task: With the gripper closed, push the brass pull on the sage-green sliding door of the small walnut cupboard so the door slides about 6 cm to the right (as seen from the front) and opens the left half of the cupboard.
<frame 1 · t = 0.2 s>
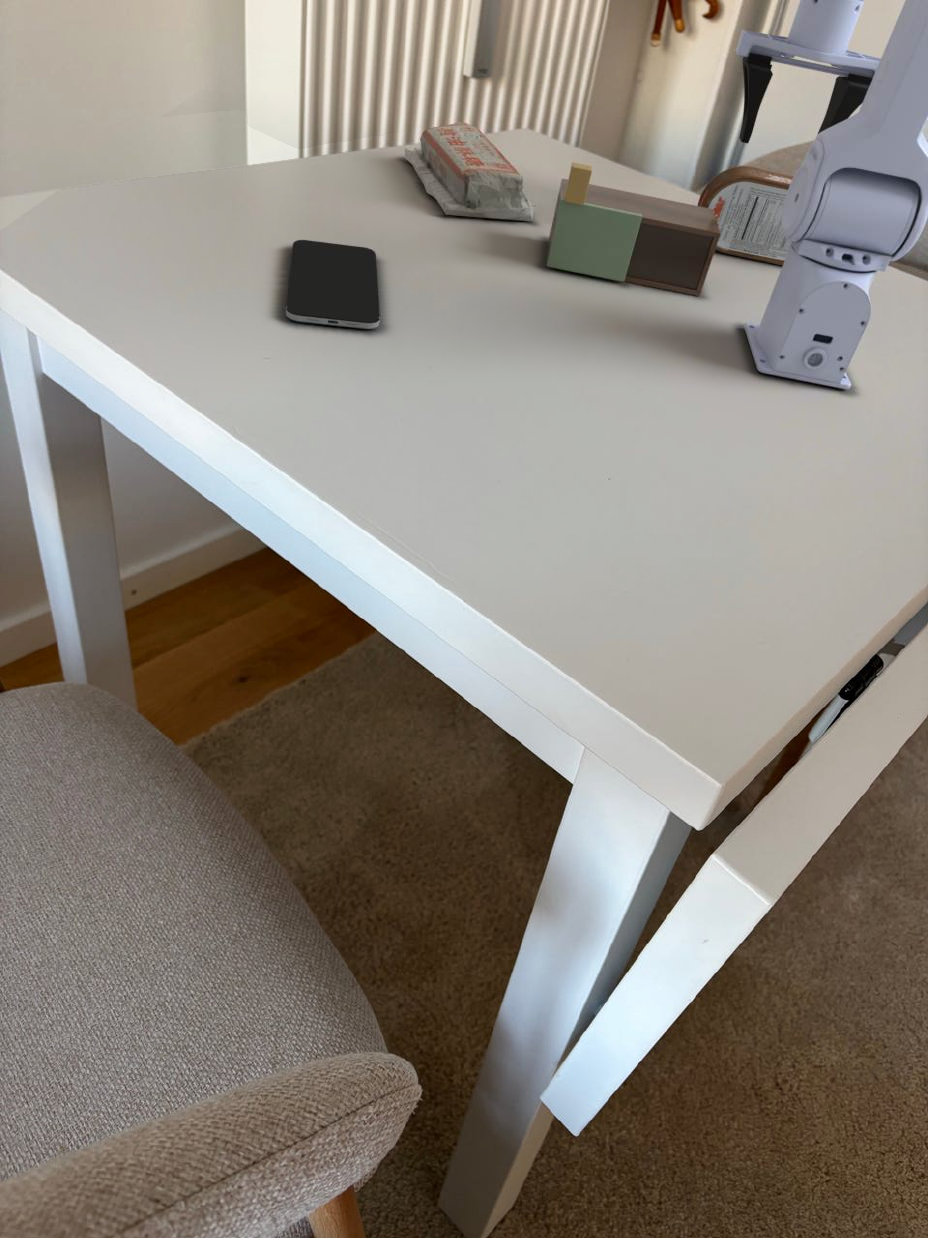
hand: (779, 147, 96), 10 cm above the table, tool pointing down, fingers open, 7 cm apart
smartphone: (333, 288, 77), on the table
tin: (754, 259, 100), on the table
sliding door: (597, 224, 85), point 5 cm above the table, slide at 0.0 cm
cupboard: (622, 267, 92), on the table
packaged product: (465, 191, 102), on the table
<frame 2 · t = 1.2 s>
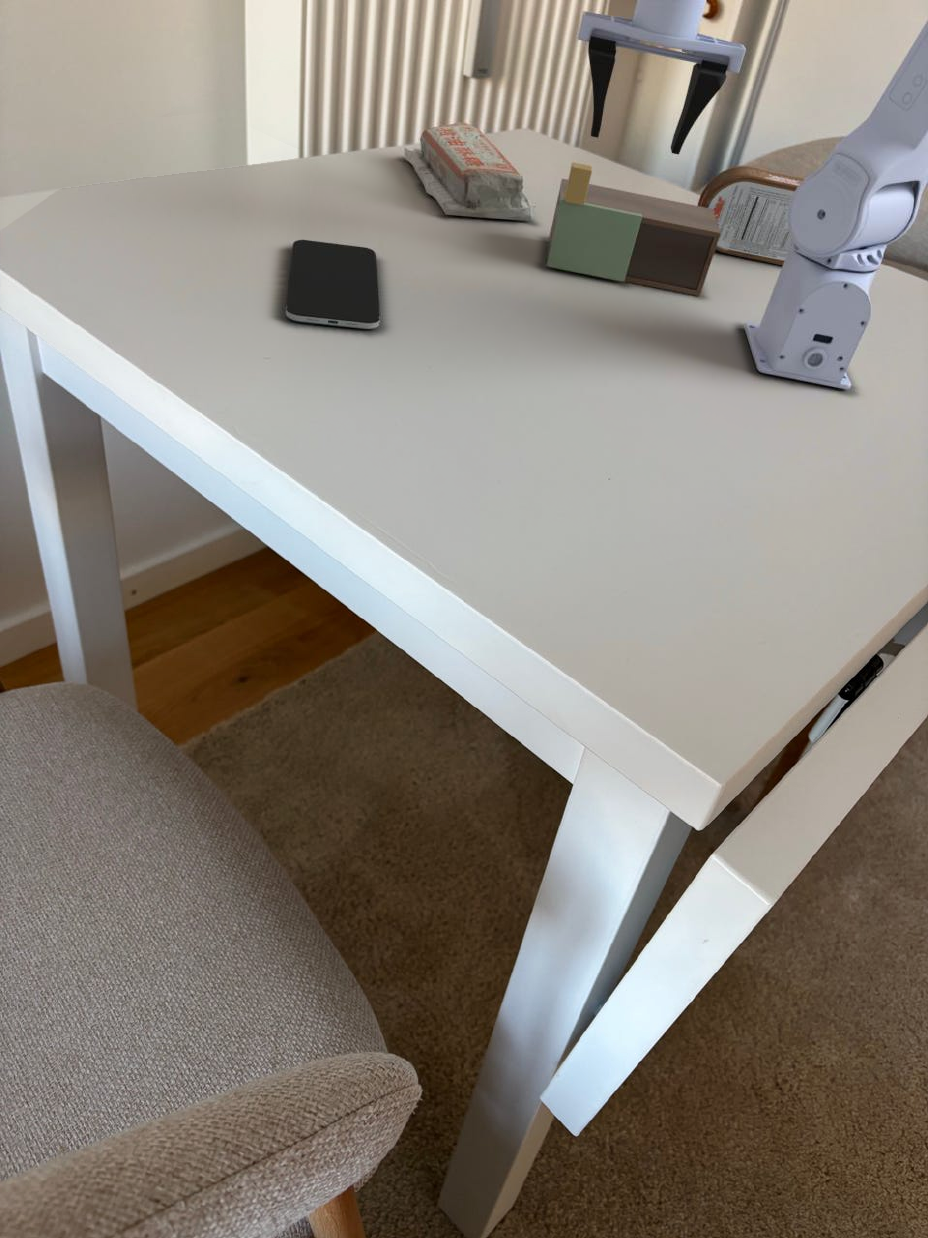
hand: (634, 142, 87), 10 cm above the table, tool pointing down, fingers open, 7 cm apart
nothing on the table moved.
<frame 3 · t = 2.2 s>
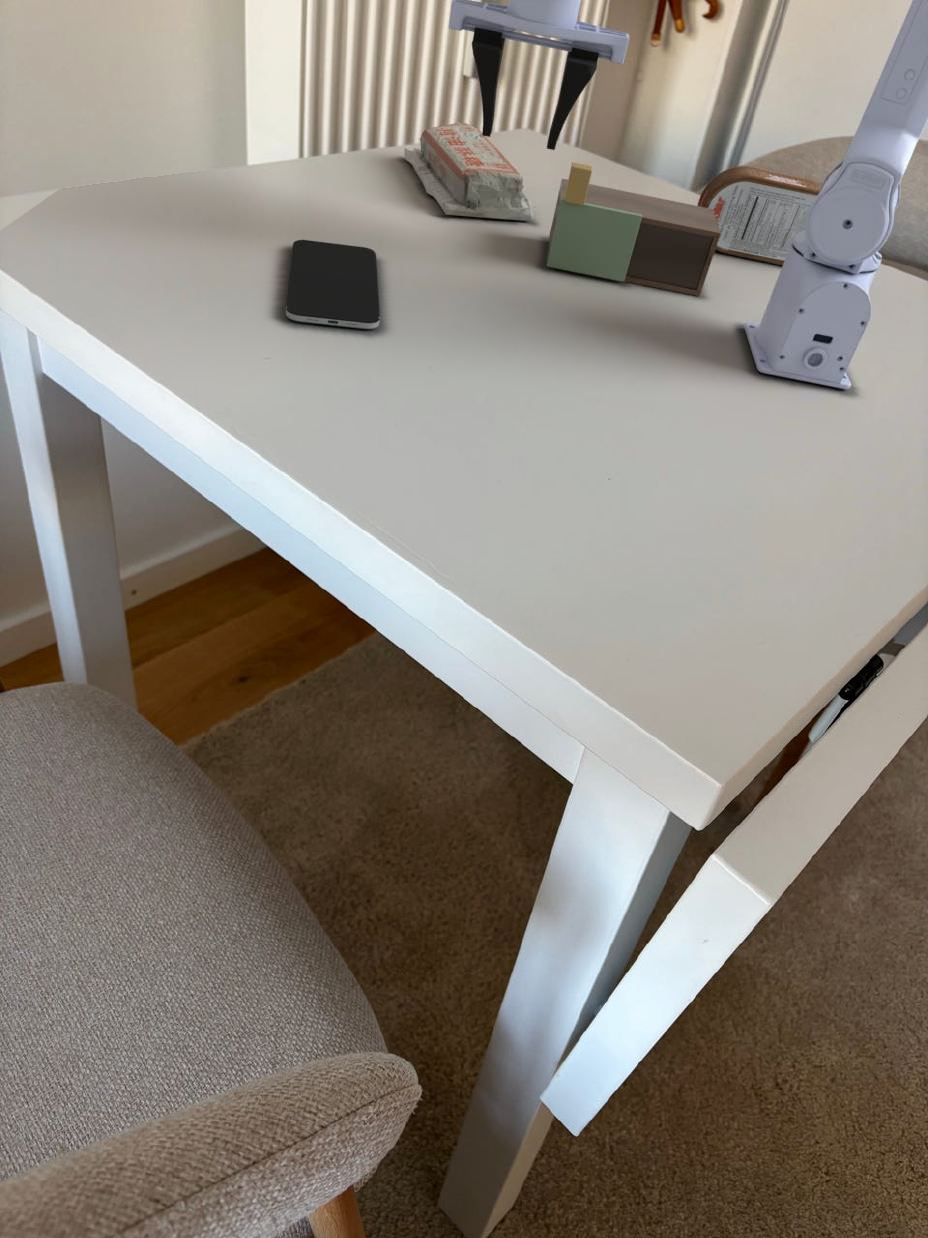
hand: (518, 139, 81), 10 cm above the table, tool pointing down, fingers open, 5 cm apart
nothing on the table moved.
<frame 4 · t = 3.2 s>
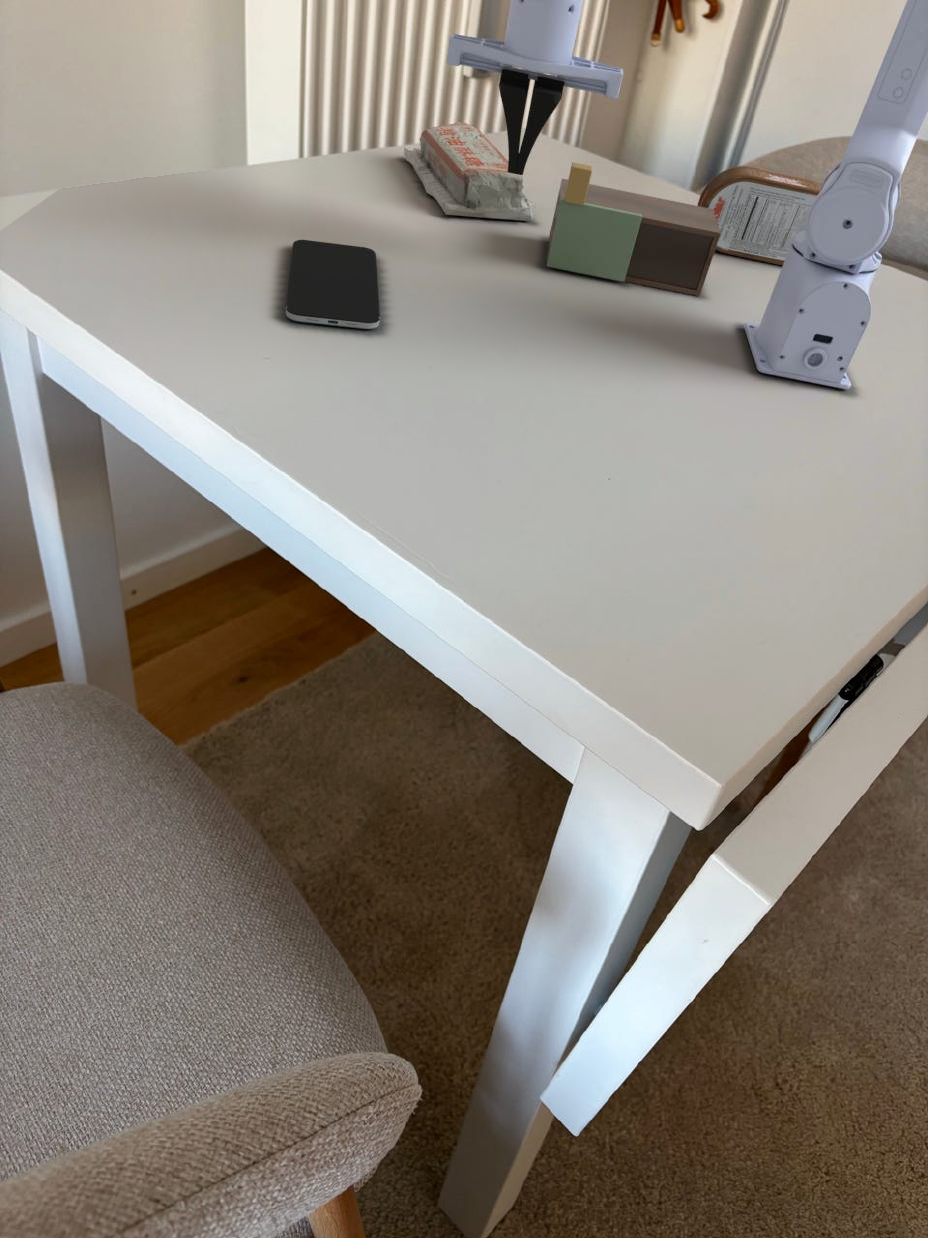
hand: (515, 170, 83), 8 cm above the table, tool pointing down, fingers closed
nothing on the table moved.
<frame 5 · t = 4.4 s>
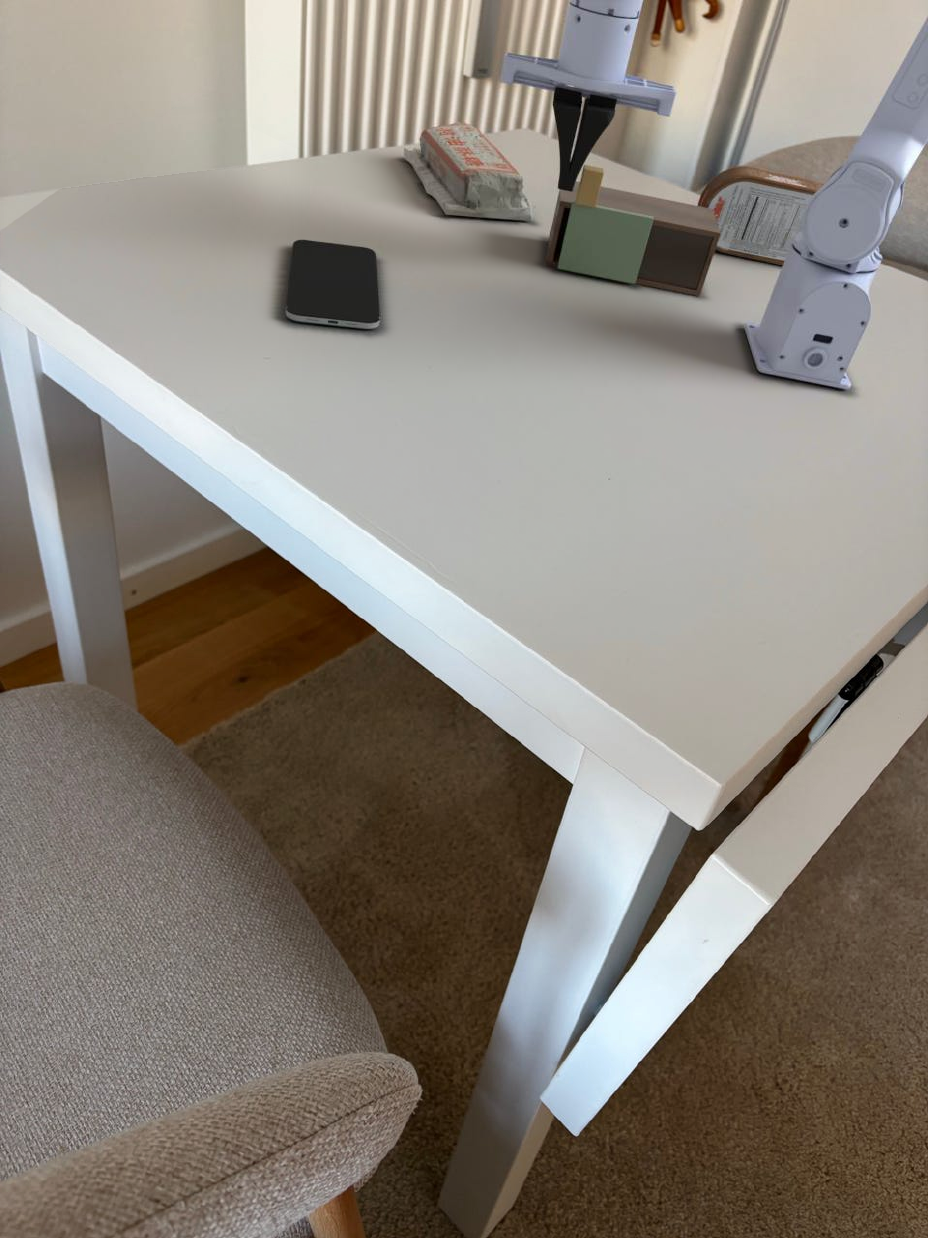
hand: (565, 186, 83), 7 cm above the table, tool pointing down, fingers closed
sliding door: (608, 226, 85), point 5 cm above the table, slide at 1.1 cm, touching gripper
everything else where it was.
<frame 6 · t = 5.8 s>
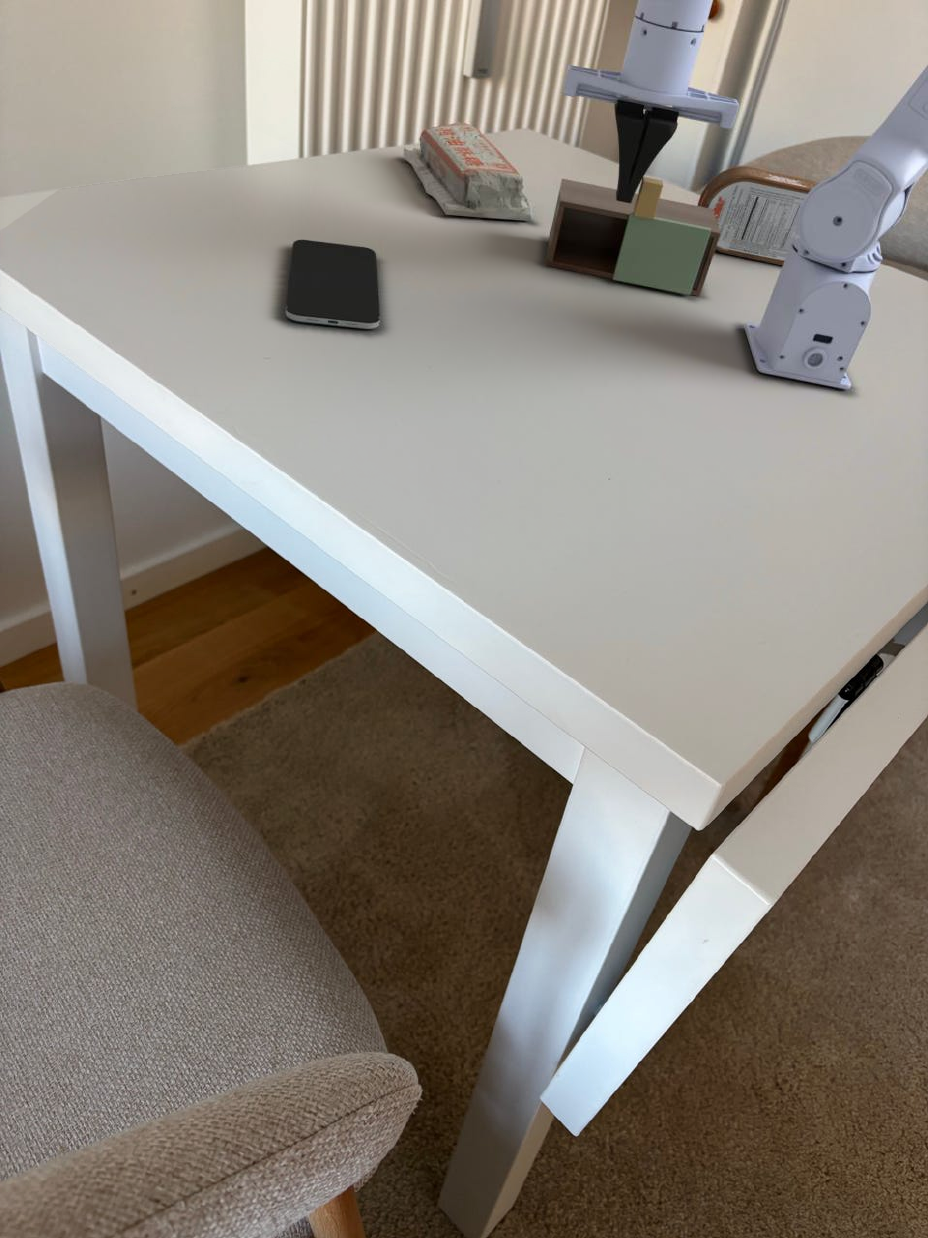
hand: (623, 198, 84), 7 cm above the table, tool pointing down, fingers closed
sliding door: (665, 238, 85), point 5 cm above the table, slide at 6.4 cm, touching gripper
everything else where it was.
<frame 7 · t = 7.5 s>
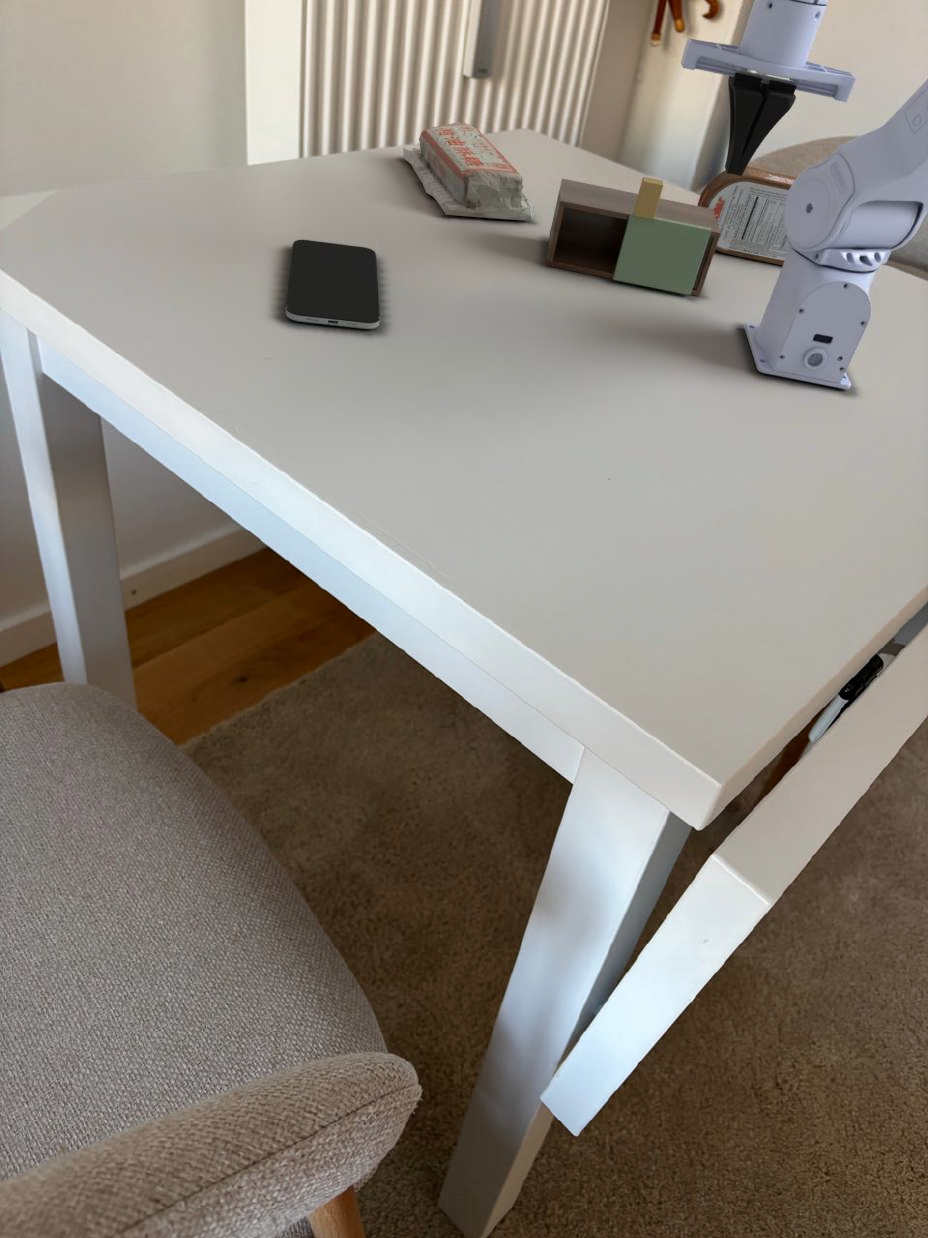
hand: (733, 171, 85), 10 cm above the table, tool pointing down, fingers closed
sliding door: (665, 238, 85), point 5 cm above the table, slide at 6.4 cm
everything else where it was.
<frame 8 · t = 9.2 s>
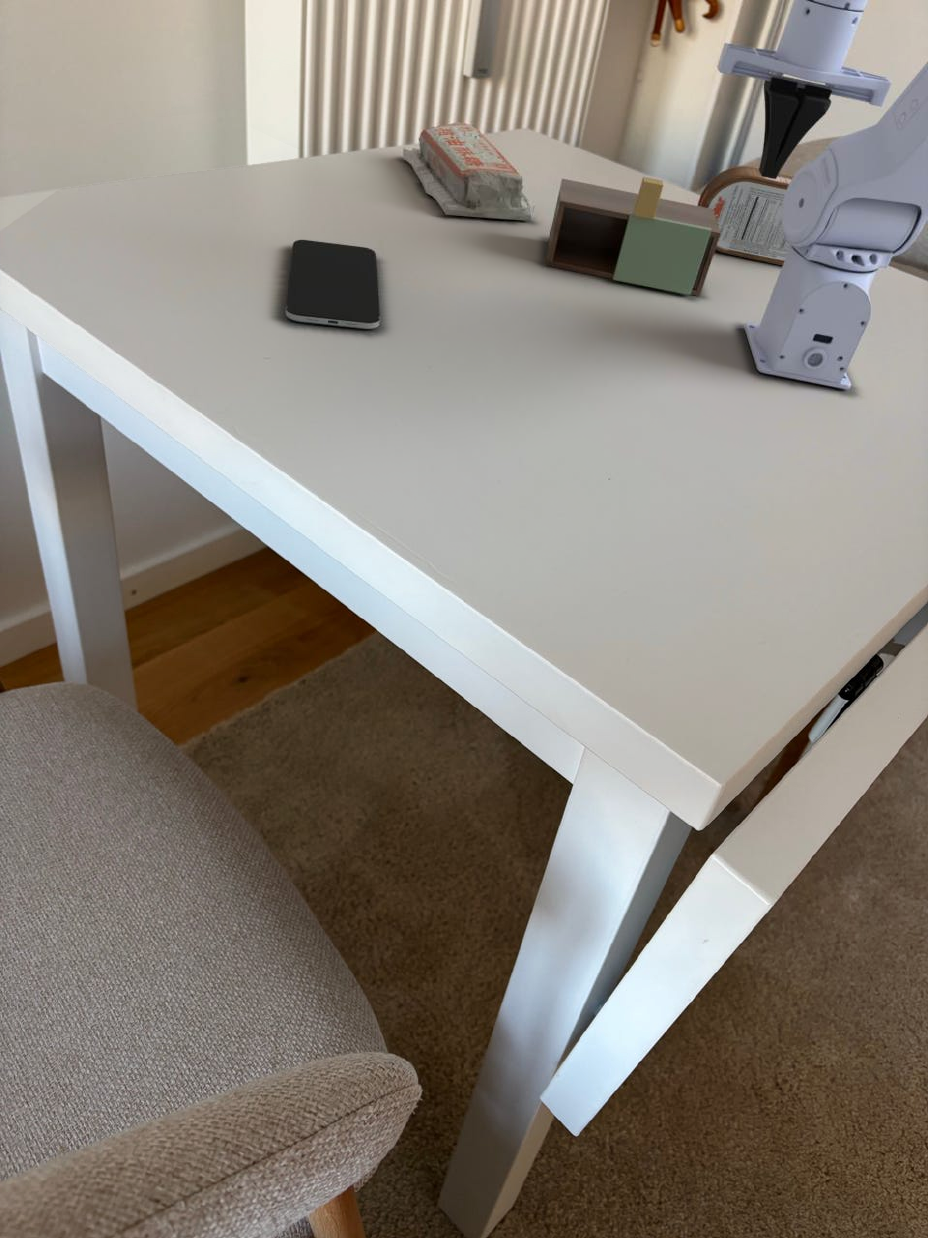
hand: (767, 174, 86), 10 cm above the table, tool pointing down, fingers closed
nothing on the table moved.
at the end: sliding door slide at 6.4 cm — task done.
